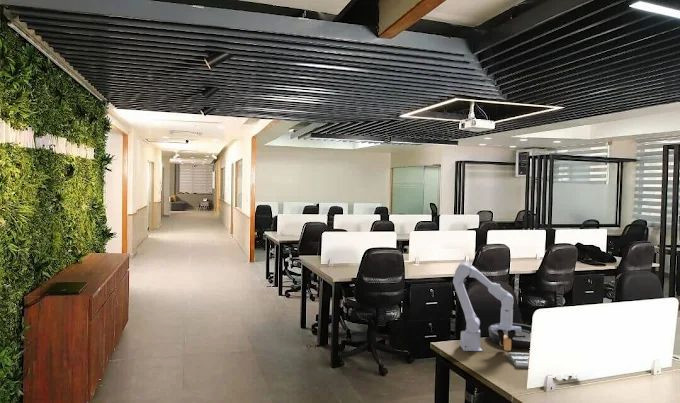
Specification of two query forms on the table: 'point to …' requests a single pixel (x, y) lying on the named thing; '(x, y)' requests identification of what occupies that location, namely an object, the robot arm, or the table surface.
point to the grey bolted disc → (520, 338)
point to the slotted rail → (518, 359)
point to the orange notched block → (506, 343)
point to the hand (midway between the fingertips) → (505, 344)
